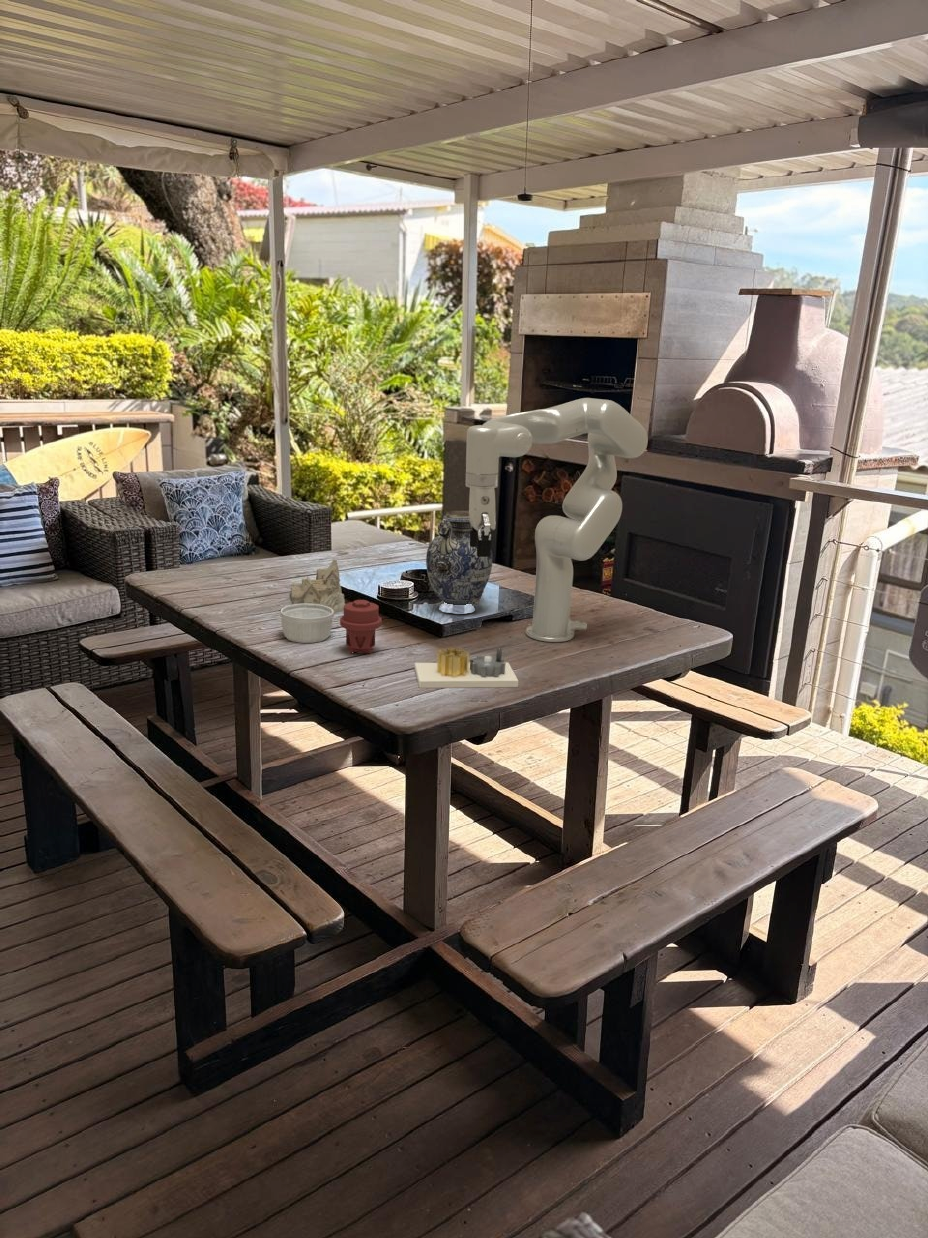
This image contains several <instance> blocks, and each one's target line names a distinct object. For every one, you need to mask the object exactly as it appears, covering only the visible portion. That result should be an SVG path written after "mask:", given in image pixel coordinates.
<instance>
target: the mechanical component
mask: <svg viewBox="0 0 928 1238" xmlns="http://www.w3.org/2000/svg"><path fill="white" fill-rule="evenodd" d="M379 609H380V608H379V605H378V604H376V603H374V602H370V601H369V600H367V599H356V600H353V601H351V602H347V603H345V605H344V611H343V615H342V616H341V617H340V618H339V625H340V626H341V627H342V628H344V629H345V631H346V633H345V635H346V636H345V637H346V638H345V644H346V646H347V652H348V653H349V652H350V653H349V654H355V653H354V652H364V653H363V654H368V653H370V654H373V651H374V647H375V645H376V630H377V629H379V628H381V627H382V625H383V620H382V617H381V616H379V611H380V610H379ZM352 652H353V653H352Z"/></svg>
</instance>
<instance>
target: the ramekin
mask: <svg viewBox="0 0 928 1238" xmlns="http://www.w3.org/2000/svg"><path fill="white" fill-rule="evenodd" d="M280 609H281V610H280V613H279V614H280V618H281V626H282V631H283V632H282V633H283V635H284V637H285V638H286V639H287V640H289V641H291V642H295V643H301V644H312V643H313V644H314V643H320V642H324V641H326V640H327V639H328V638H329V636H330V635H331V633H332V628H333V627H332V626H333V619H334V616H335V613H334V611H333V609H332V608H330V607H328V606H324V605H320V604H309V603H305V604H293V605H291V604H289V605H287V606H284V607H282V608H280Z"/></svg>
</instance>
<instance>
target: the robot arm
mask: <svg viewBox="0 0 928 1238" xmlns="http://www.w3.org/2000/svg"><path fill="white" fill-rule="evenodd" d="M584 434H587V446H588V462H587V464H586V467H585V469H584V471H583V472H582V473H581V475H580V476H579V477H578V479H577V480H576V481H575V483H574V484H573V486H572V487H571V488H570V490H569V491H568V493H567V494H566V495H565V497H564V499H563V501H562V505H561V506H562V512H563V513H564V514H565V516H561V515H547V516H545V517H543V518H541V520H539V522H538V523H537V525H536V528H535V530H534V531H535V532H534V542H535V550H536V552H535V553H536V571H535V573H536V574H535V583H534V585H535V586H534V599H533V610H532V611H533V614H532V625H529V626H527V627H526V630H525V634H526V635H527V637H529V638H531V639H534V640H537V641H541V642H547V643H548V642H549V643H562V642H563V643H564V642H567V641H571V640H572V639H574V638H575V637H574V636H575V631H576V630H579V631H586V630H587V629H588V624H587V622H580V621H581V620H572V619H571V618H570V614H571V605H572V602H571V601H572V593H573V591H572V590H573V581H574V566H573V560H574V561H575V560H576V561H587V560H588V559H591V558H592V557H593V556H594V555H595V554H596V553H597V552H598V551H599V549H600V548H601V546H602V545H603V544H604V543H605V541H606V539H607V538H608V537H609V536H610V534H611V532H612V531H613V530H614V528H615V527H616V526H617V524H618V522H619V521H620V518H621V515H622V513H623V512H622V511H623V501H622V498H621V496H620V495H619V494H618V493H617V492H616V491H614V490H612V488H613V487H614V485H615V484H616V481H617V477H618V475H617V474H618V473H617V465H616V464H617V463H616V459H615V457H619V458H620V457H621V458H626V459H636V458H638V457H640V456H641V455H643V453H644V452H645V451H646V450H647V447H648V441H649V437H648V433H647V431H646V429H645V428H644V426H643V425H642V424H641V423H640V422H639V421H638V420H637V419H636V418H635V417H633V416H632V415H631V414H630V413H629V412H628V411H627V410H626V409H625V408H624V407H622V406H621V404H619V403H617V402H615V401H613V400H611V399H610V400H609V399H601V398H594V397H593V398H591V397H583V398H579V399H575V400H571V401H569V402H565V403H562V404H558V405H554V406H551V407H548V408H542V409H535V410H529V411H524V412H516V413H511V414H506V415H503V416H499V417H496V418H493V419H489V420H487V421H485V422H483V424H482V425H481V424H478V425H472V426H469V428H468V429H467V431H466V447H465V448H466V454H465V461H466V462H465V467H466V468H465V487H466V488H469V497H468V501H469V502H468V503H469V504H468V511H469V521H470V524H471V526H470V529H471V530H470V547H477V556H478V557H490V555H491V551H492V549H491V548H492V547H491V546H492V534H491V531H494V530H495V529H496V490H495V488H498V487H499V458H500V457H505V458H506V457H507V458H519V457H523V456H524V455H526V454H527V453H528V452H529V451H530V450H531V448H532V445H533V444H540V445H542V444H545V445H547V444H557V443H560V442H562V441H567V440H569V439H572V438H574V437H578V436H581V435H584Z"/></svg>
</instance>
